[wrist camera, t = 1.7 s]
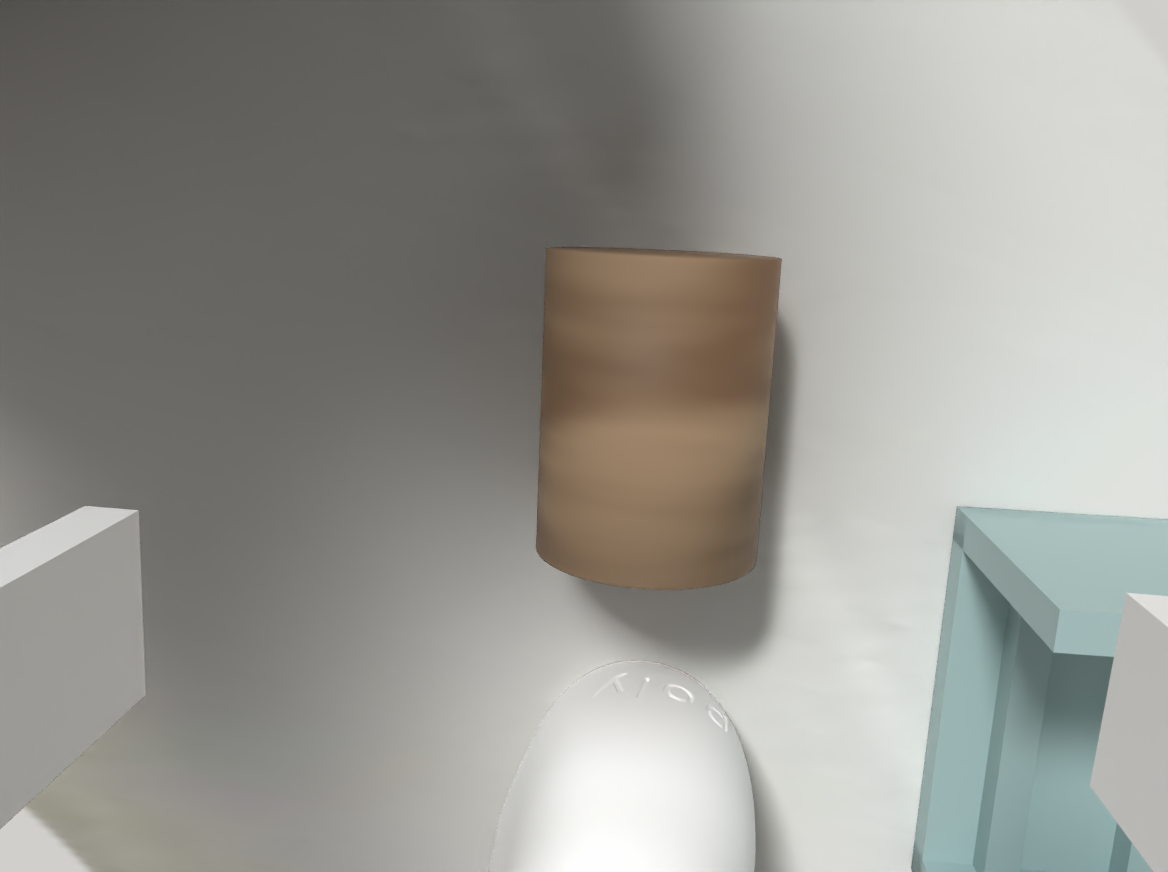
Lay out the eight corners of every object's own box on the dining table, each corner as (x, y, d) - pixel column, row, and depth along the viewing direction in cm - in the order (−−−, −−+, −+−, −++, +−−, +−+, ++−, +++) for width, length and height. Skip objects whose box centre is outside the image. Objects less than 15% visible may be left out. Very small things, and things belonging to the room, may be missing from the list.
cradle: (957, 506, 30) (1059, 609, 22) (1241, 524, 29) (1451, 636, 21) (911, 868, 32) (988, 1076, 24) (1171, 891, 32) (1336, 1111, 24)
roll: (559, 245, 29) (531, 251, 23) (769, 254, 29) (795, 264, 23) (549, 511, 31) (521, 580, 25) (748, 524, 30) (766, 597, 24)
